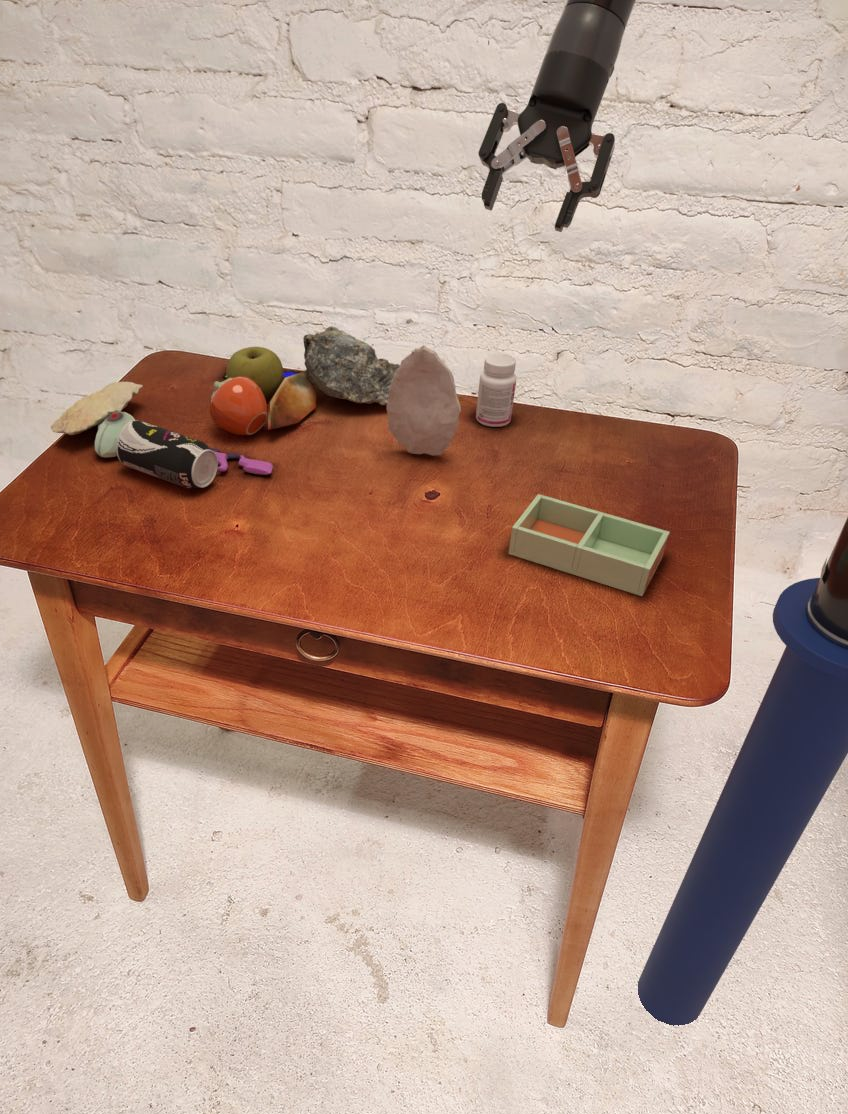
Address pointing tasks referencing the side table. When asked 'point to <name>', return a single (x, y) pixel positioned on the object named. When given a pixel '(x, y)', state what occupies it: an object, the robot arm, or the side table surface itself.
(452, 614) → the side table surface
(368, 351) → the rock
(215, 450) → the pink plastic clamp
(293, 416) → the decorative stone
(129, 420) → the robot head
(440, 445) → the stone tool
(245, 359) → the apple
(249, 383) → the tomato
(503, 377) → the pill bottle
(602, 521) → the divided tray
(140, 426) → the beverage can
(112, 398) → the stone tool
